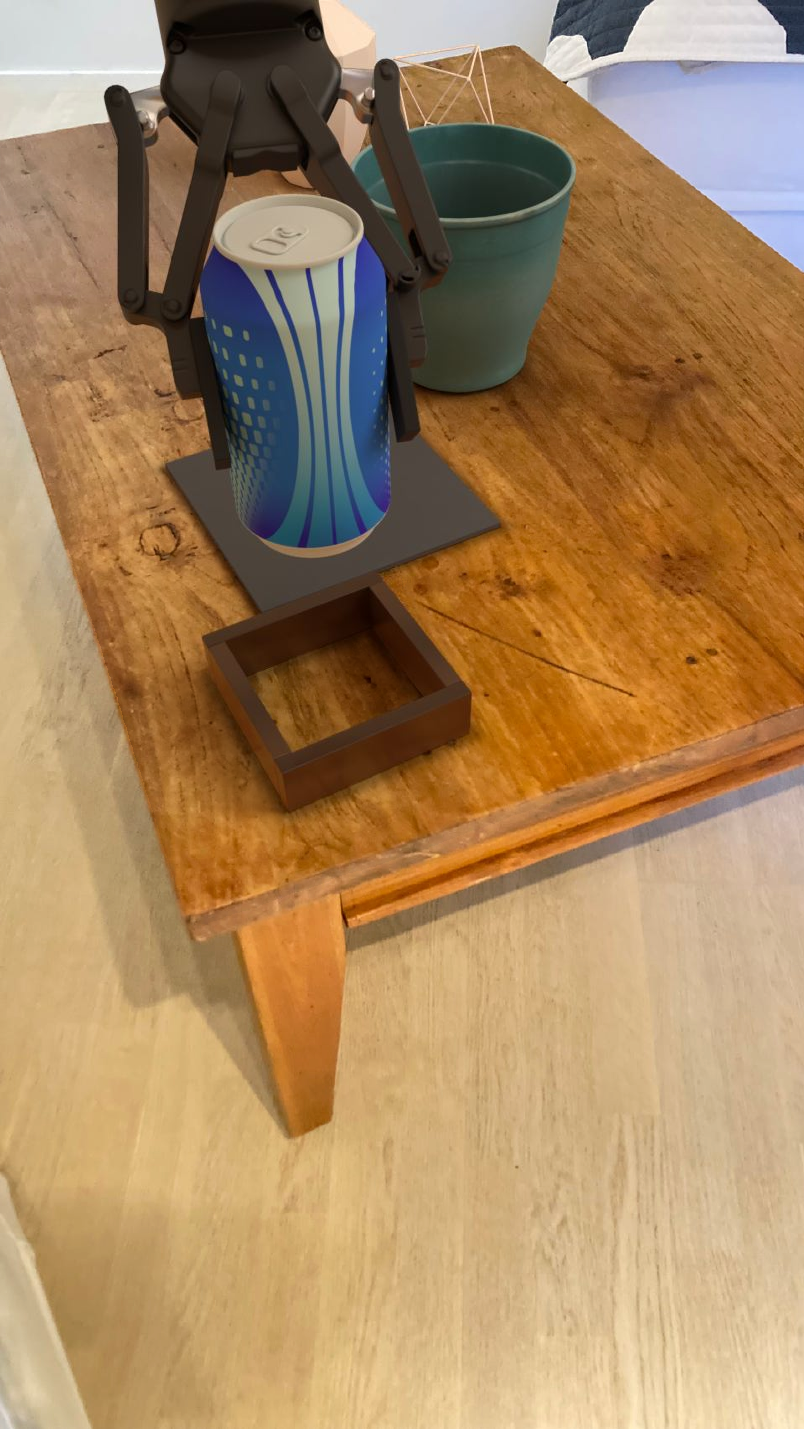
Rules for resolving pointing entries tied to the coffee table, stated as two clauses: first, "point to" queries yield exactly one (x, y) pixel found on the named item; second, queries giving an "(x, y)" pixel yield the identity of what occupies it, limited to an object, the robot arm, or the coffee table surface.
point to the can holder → (359, 746)
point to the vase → (352, 50)
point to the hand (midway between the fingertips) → (317, 450)
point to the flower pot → (483, 244)
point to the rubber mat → (414, 525)
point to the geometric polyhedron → (449, 85)
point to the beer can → (301, 370)
